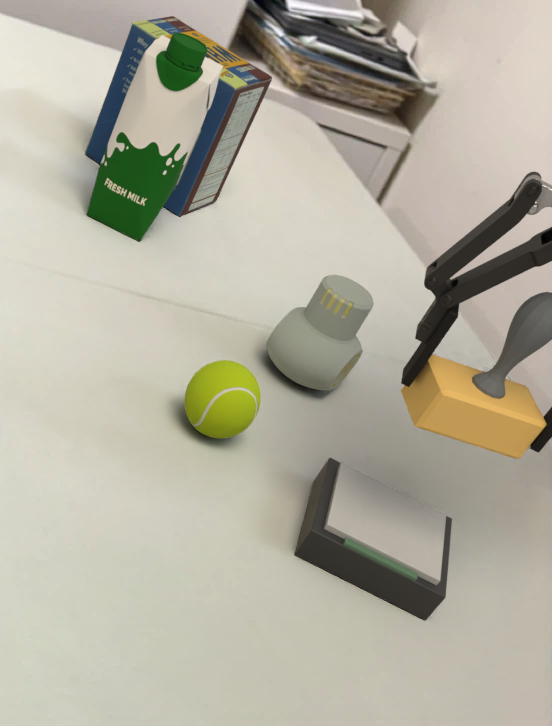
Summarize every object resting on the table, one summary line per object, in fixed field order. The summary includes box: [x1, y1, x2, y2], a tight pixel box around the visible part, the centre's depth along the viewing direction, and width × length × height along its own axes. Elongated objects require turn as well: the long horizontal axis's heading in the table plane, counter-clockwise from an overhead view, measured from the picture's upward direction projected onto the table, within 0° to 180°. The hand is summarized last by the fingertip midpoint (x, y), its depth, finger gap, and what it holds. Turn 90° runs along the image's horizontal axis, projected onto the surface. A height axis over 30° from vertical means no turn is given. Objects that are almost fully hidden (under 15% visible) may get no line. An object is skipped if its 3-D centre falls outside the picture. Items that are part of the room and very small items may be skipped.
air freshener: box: [265, 274, 375, 391], centre depth 115 cm, size 11×8×10 cm
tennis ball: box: [183, 359, 262, 439], centre depth 102 cm, size 7×7×7 cm
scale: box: [294, 457, 453, 621], centre depth 99 cm, size 13×13×4 cm
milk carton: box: [86, 33, 223, 242], centre depth 121 cm, size 9×9×20 cm
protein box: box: [84, 15, 273, 217], centre depth 133 cm, size 10×15×16 cm
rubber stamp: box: [400, 291, 552, 460], centre depth 86 cm, size 10×6×12 cm, turn 89°
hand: (470, 410), depth 90 cm, fingers closed on rubber stamp, 11 cm apart
